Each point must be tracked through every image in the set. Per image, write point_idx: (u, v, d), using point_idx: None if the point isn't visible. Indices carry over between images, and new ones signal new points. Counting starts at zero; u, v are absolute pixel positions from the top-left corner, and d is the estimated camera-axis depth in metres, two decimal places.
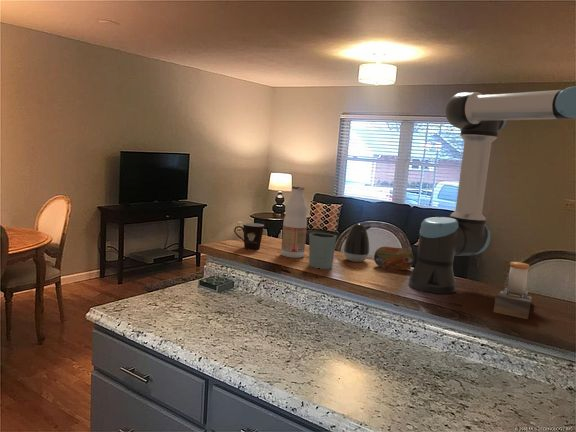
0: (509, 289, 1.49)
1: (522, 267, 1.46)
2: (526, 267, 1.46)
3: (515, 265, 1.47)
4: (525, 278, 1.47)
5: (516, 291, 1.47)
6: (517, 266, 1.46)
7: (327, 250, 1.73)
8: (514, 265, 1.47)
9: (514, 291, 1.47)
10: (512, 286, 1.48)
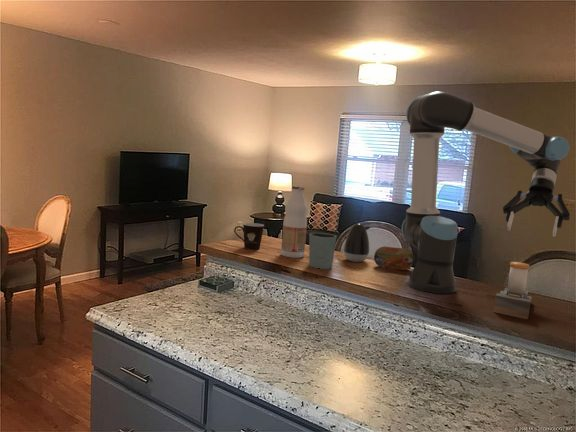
0: (509, 289, 1.49)
1: (522, 267, 1.46)
2: (526, 267, 1.46)
3: (515, 265, 1.47)
4: (525, 278, 1.47)
5: (516, 291, 1.47)
6: (517, 266, 1.46)
7: (327, 250, 1.73)
8: (514, 265, 1.47)
9: (514, 291, 1.47)
10: (512, 286, 1.48)
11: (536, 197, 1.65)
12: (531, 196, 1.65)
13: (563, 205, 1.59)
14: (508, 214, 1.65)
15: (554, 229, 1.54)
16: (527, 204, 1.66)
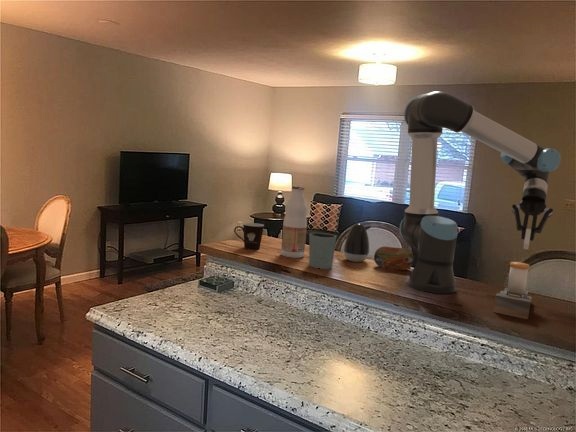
0: (509, 289, 1.49)
1: (522, 267, 1.46)
2: (526, 267, 1.46)
3: (515, 265, 1.47)
4: (525, 278, 1.47)
5: (516, 291, 1.47)
6: (517, 266, 1.46)
7: (327, 250, 1.73)
8: (514, 265, 1.47)
9: (514, 291, 1.47)
10: (512, 286, 1.48)
11: (530, 207, 1.66)
12: (528, 207, 1.65)
13: (544, 219, 1.61)
14: (523, 231, 1.61)
15: (527, 242, 1.57)
16: (528, 215, 1.66)
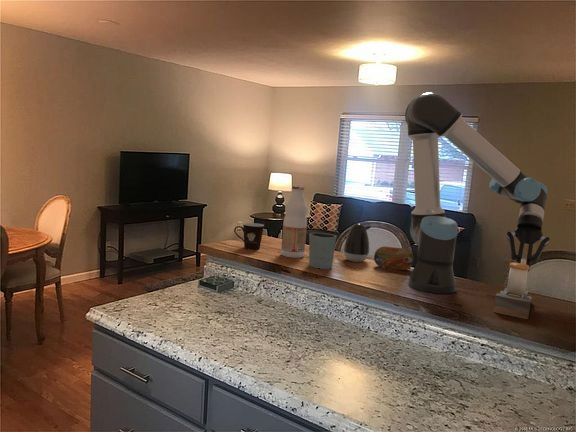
0: (509, 290, 1.47)
1: (522, 268, 1.44)
2: (526, 268, 1.44)
3: (515, 266, 1.45)
4: (525, 279, 1.45)
5: (516, 292, 1.46)
6: (517, 267, 1.45)
7: (327, 250, 1.73)
8: (514, 266, 1.46)
9: (514, 292, 1.46)
10: (512, 287, 1.46)
11: (525, 235, 1.58)
12: (523, 235, 1.58)
13: (540, 248, 1.54)
14: (518, 261, 1.53)
15: None
16: None
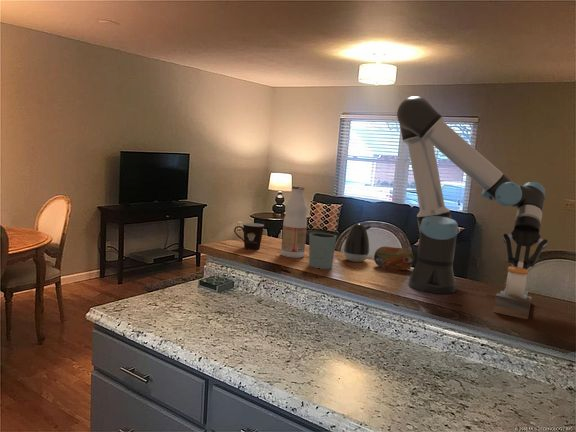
0: None
1: (520, 272, 1.38)
2: (525, 272, 1.38)
3: (513, 270, 1.39)
4: (524, 284, 1.39)
5: None
6: (515, 271, 1.39)
7: (327, 250, 1.73)
8: (512, 270, 1.39)
9: None
10: (510, 292, 1.40)
11: (522, 237, 1.52)
12: (520, 237, 1.52)
13: (537, 251, 1.48)
14: (515, 265, 1.47)
15: None
16: (521, 246, 1.52)
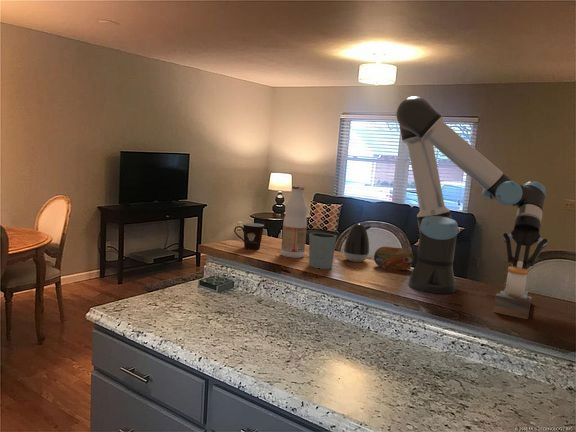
0: None
1: (520, 272, 1.38)
2: (525, 272, 1.38)
3: (513, 270, 1.39)
4: (523, 284, 1.39)
5: None
6: (515, 271, 1.38)
7: (327, 250, 1.73)
8: (512, 270, 1.39)
9: None
10: (510, 292, 1.40)
11: (522, 236, 1.52)
12: (520, 236, 1.52)
13: (537, 250, 1.48)
14: (514, 264, 1.47)
15: None
16: None
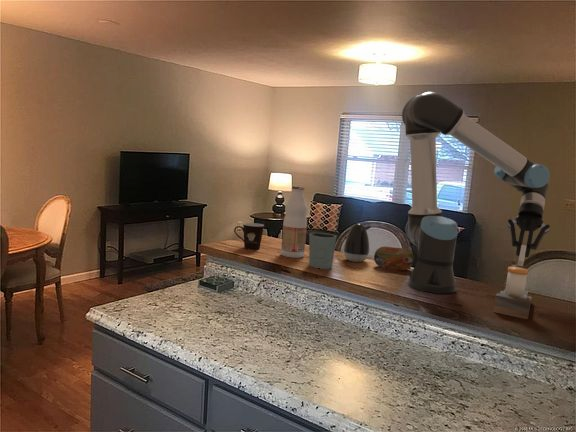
0: None
1: (520, 272, 1.38)
2: (525, 272, 1.38)
3: (513, 270, 1.39)
4: (523, 284, 1.39)
5: None
6: (515, 271, 1.38)
7: (327, 250, 1.73)
8: (512, 270, 1.39)
9: None
10: (510, 292, 1.40)
11: (526, 222, 1.61)
12: (524, 222, 1.61)
13: (540, 235, 1.56)
14: (518, 248, 1.56)
15: (522, 259, 1.52)
16: (524, 231, 1.61)
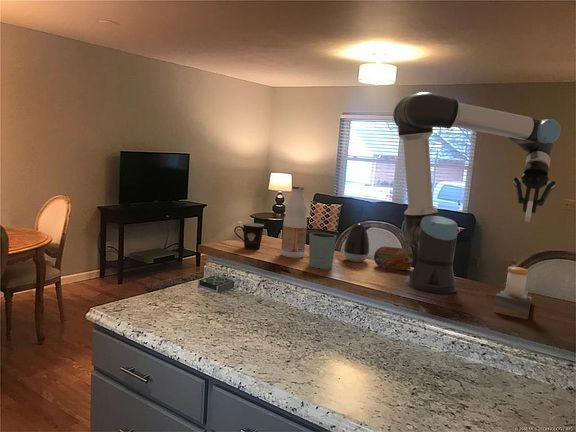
0: None
1: (520, 272, 1.38)
2: (525, 272, 1.38)
3: (513, 270, 1.39)
4: (523, 284, 1.39)
5: None
6: (515, 271, 1.38)
7: (327, 250, 1.73)
8: (512, 270, 1.39)
9: None
10: (510, 292, 1.40)
11: (532, 180, 1.62)
12: (530, 179, 1.62)
13: (546, 191, 1.58)
14: (525, 204, 1.57)
15: (529, 214, 1.54)
16: (530, 188, 1.62)
